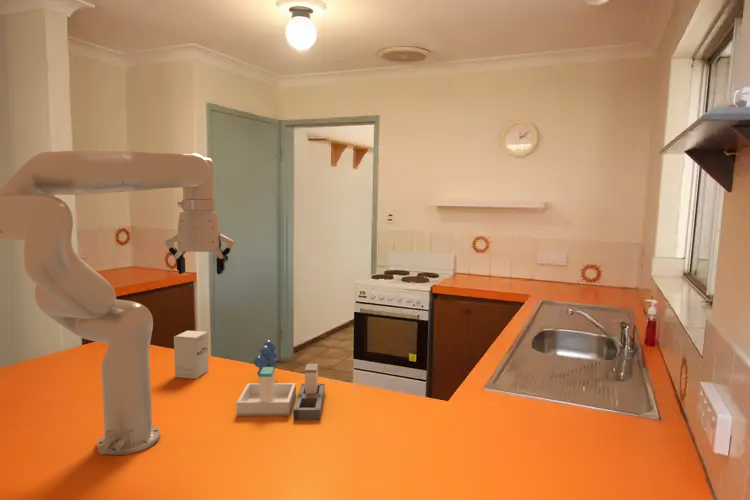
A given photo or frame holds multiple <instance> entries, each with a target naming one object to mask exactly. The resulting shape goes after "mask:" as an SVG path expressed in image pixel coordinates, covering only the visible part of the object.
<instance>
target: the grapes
mask: <svg viewBox="0 0 750 500" xmlns="http://www.w3.org/2000/svg"><path fill="white" fill-rule="evenodd" d="M276 349H277V346H276V344H275V343H274V342H273V341H271V340H270V339H268V340H266V341H265V342H264V343H263V345H262V347H261V348H260V349H259V353H260V355H257V356H256V357H255V358H254V359H253V360H252V362H253V364H254V365H255V367H256V368H258V371H257V372H256V373H257V375H258V377H259V380H260V372H261V370H262V368H263V367H274V370H275V369H276V368H277V365H276V364H275V363H276V359H277V358H278V355H277V352H276V351H275V350H276Z"/></svg>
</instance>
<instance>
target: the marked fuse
mask: <svg viewBox="0 0 750 500" xmlns="http://www.w3.org/2000/svg"><path fill="white" fill-rule="evenodd" d="M259 378H260V379H259V383H260V401H274V400H275V383H276V382H275V369H274V367H263V368H262V370H261V372H260V377H259Z"/></svg>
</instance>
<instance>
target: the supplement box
mask: <svg viewBox="0 0 750 500" xmlns="http://www.w3.org/2000/svg"><path fill="white" fill-rule="evenodd" d="M208 333H209V331H203V330H201V331H200V330H185V331H184V332H181V333H179V334H177V335H175V336H173V346H174V347H173V351H174V378H182V379H192V380H197V379H198V378H199V377H201V376H202V375H204V374H206V373H208V372H209V370H210V369H209V337H208V336H209V334H208Z"/></svg>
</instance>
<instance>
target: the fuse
mask: <svg viewBox="0 0 750 500" xmlns="http://www.w3.org/2000/svg"><path fill="white" fill-rule="evenodd" d="M304 384H305V394H318V384H319V364H318V363H306V365H305V369H304Z"/></svg>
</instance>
